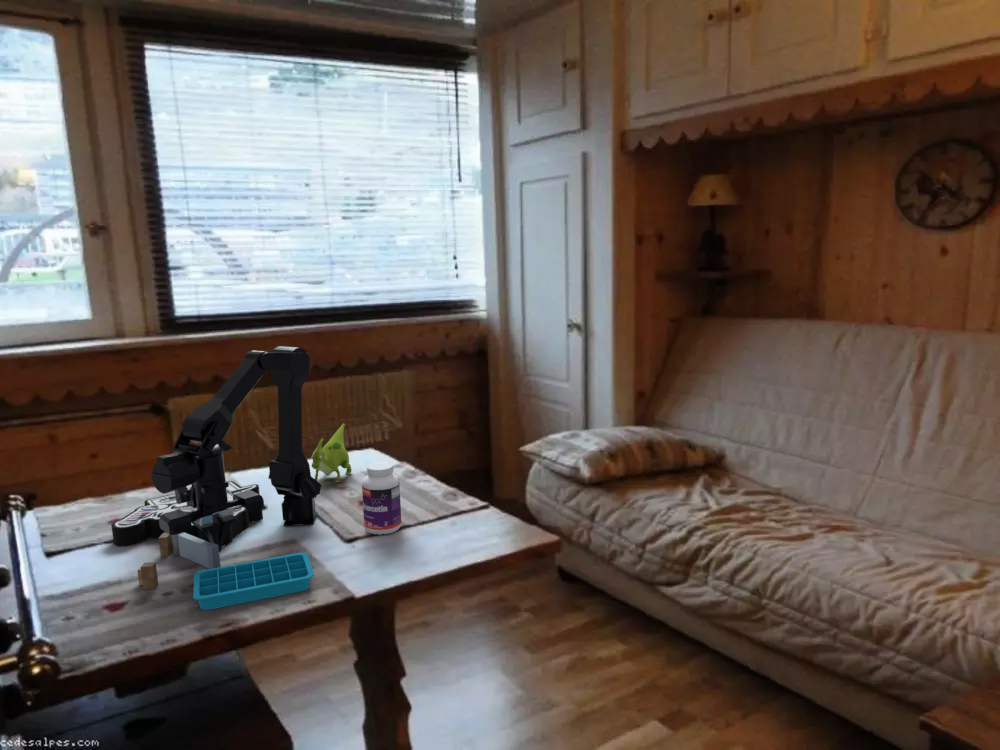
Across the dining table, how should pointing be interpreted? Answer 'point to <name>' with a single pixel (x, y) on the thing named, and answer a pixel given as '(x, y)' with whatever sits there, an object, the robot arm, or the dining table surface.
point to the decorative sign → (147, 517)
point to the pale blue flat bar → (196, 550)
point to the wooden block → (148, 576)
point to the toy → (331, 455)
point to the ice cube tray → (252, 580)
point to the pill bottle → (381, 499)
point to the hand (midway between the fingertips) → (217, 552)
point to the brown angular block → (165, 544)
